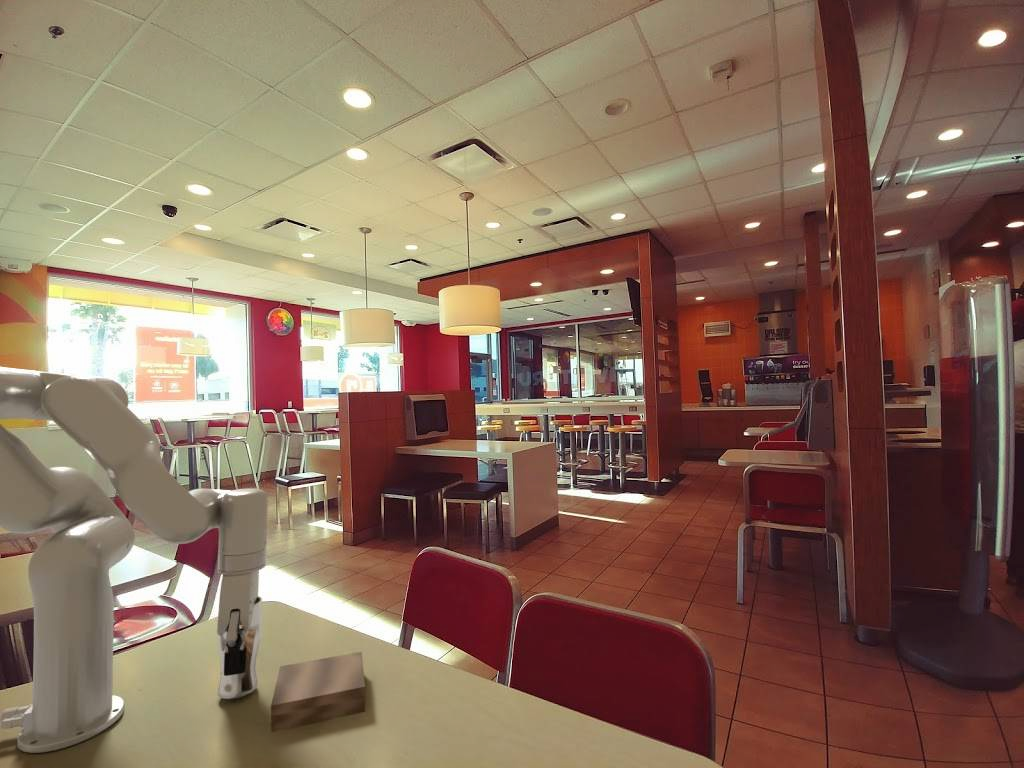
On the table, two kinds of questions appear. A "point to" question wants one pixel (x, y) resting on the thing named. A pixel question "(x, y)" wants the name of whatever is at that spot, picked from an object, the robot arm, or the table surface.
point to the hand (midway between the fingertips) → (238, 662)
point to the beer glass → (248, 680)
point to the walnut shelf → (318, 691)
